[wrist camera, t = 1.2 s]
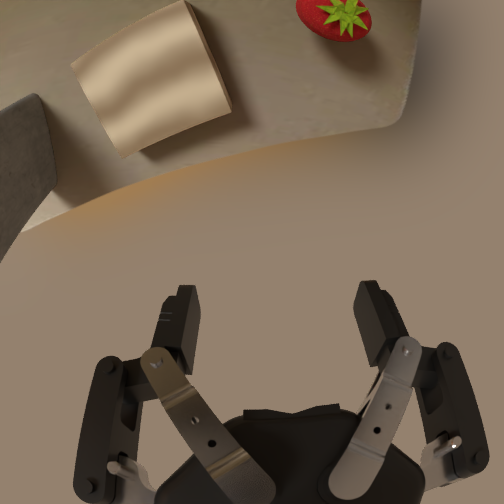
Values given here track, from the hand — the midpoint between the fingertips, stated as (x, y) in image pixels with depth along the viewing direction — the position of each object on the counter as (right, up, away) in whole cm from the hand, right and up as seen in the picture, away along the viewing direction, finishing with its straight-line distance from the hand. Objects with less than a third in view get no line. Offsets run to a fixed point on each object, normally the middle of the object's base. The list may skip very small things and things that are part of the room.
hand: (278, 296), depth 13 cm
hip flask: (-32, +18, +16) cm, 40 cm away
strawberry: (+6, +28, +9) cm, 30 cm away
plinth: (-12, +22, +13) cm, 29 cm away
